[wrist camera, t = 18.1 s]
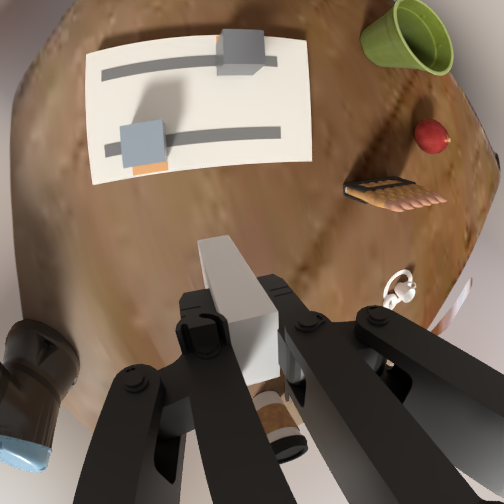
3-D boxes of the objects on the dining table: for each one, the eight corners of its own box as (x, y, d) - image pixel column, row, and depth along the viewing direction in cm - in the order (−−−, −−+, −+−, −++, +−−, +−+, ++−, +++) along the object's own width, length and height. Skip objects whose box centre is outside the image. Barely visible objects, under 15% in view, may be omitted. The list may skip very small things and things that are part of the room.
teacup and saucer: (380, 312, 51) (392, 323, 48) (376, 283, 48) (389, 293, 44) (411, 290, 52) (423, 300, 48) (409, 261, 48) (423, 270, 44)
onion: (418, 113, 36) (454, 115, 29) (429, 142, 39) (463, 148, 32) (400, 125, 36) (436, 128, 29) (411, 156, 39) (446, 163, 32)
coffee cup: (247, 389, 49) (269, 452, 36) (287, 384, 52) (316, 441, 38) (243, 413, 52) (262, 470, 39) (280, 407, 55) (304, 460, 41)
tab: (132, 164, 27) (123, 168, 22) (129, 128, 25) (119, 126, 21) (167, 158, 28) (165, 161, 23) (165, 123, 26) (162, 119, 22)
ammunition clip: (343, 195, 38) (397, 219, 28) (342, 183, 38) (398, 203, 27) (395, 187, 40) (450, 206, 30) (395, 176, 40) (451, 193, 29)
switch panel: (99, 181, 29) (92, 185, 27) (93, 60, 23) (86, 54, 20) (301, 159, 35) (312, 161, 32) (296, 47, 28) (306, 40, 26)
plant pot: (345, 6, 26) (390, -19, 16) (401, 32, 30) (449, 21, 19) (345, 68, 31) (397, 54, 21) (403, 90, 34) (455, 88, 24)
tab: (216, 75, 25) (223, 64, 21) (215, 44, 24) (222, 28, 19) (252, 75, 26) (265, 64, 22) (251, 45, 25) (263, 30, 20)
